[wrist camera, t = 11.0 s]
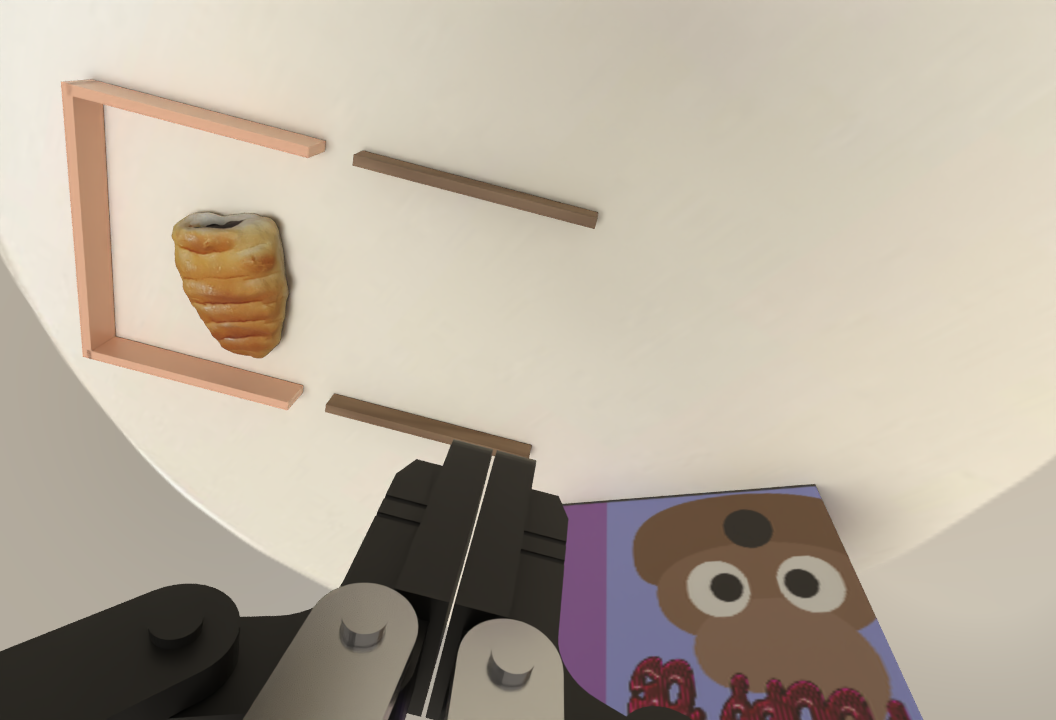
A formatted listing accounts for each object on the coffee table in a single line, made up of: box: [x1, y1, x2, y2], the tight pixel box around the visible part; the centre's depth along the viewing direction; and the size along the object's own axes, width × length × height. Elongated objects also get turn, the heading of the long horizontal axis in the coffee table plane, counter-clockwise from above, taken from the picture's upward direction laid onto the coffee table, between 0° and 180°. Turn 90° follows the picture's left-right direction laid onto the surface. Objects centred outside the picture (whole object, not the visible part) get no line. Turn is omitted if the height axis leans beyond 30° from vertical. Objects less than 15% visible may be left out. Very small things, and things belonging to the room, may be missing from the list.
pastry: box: [172, 212, 289, 358], centre depth 41 cm, size 9×7×4 cm
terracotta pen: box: [61, 79, 326, 410], centre depth 41 cm, size 17×14×2 cm
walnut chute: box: [325, 151, 598, 458], centre depth 42 cm, size 17×14×2 cm
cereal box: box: [558, 484, 923, 720], centre depth 36 cm, size 17×5×24 cm, turn 101°
